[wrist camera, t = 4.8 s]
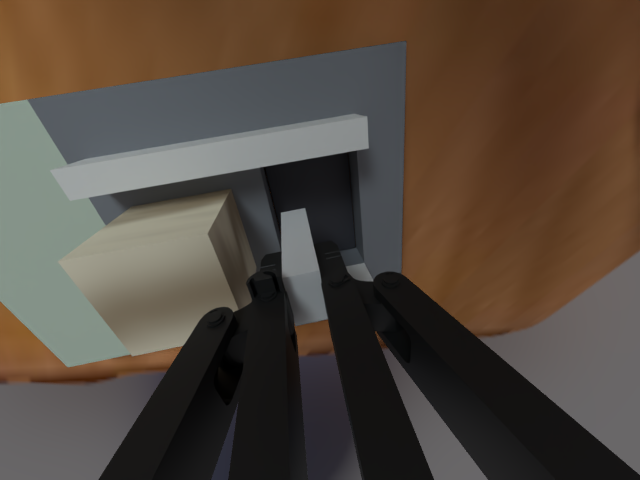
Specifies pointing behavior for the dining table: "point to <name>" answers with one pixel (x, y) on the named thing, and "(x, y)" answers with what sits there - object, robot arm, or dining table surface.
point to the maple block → (165, 268)
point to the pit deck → (200, 171)
